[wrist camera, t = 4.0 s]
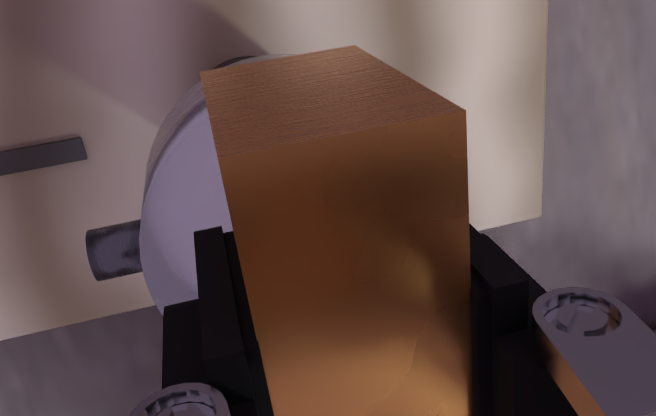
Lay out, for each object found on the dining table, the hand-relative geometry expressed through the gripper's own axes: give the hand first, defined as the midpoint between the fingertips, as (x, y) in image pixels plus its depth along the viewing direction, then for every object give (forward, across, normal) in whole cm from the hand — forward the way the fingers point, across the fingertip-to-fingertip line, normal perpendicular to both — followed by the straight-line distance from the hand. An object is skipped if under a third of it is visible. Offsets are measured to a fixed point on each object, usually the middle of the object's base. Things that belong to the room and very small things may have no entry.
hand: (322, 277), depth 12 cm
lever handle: (+5, +1, 0) cm, 5 cm away
